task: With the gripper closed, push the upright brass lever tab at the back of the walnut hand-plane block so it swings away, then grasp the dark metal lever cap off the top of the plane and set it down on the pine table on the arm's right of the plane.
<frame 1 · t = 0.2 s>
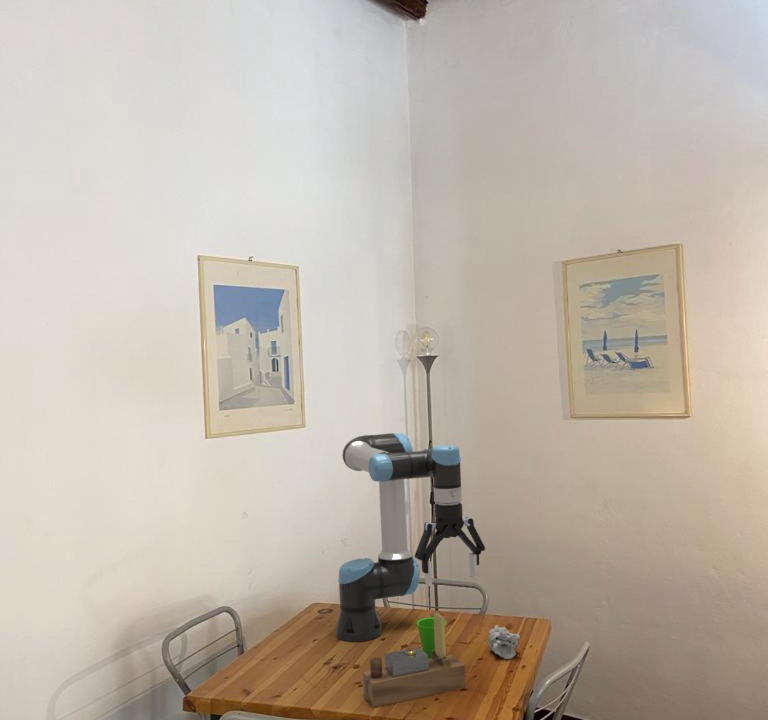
hand: (451, 581, 193), 28 cm above the table, fingers open, 13 cm apart
plane body: (414, 691, 190), on the table
cup: (433, 660, 210), on the table
lever: (439, 637, 193), point 13 cm above the table, hinge at 0.0°
lever cap: (406, 669, 189), point 6 cm above the table, touching plane body
figurine: (504, 654, 212), on the table
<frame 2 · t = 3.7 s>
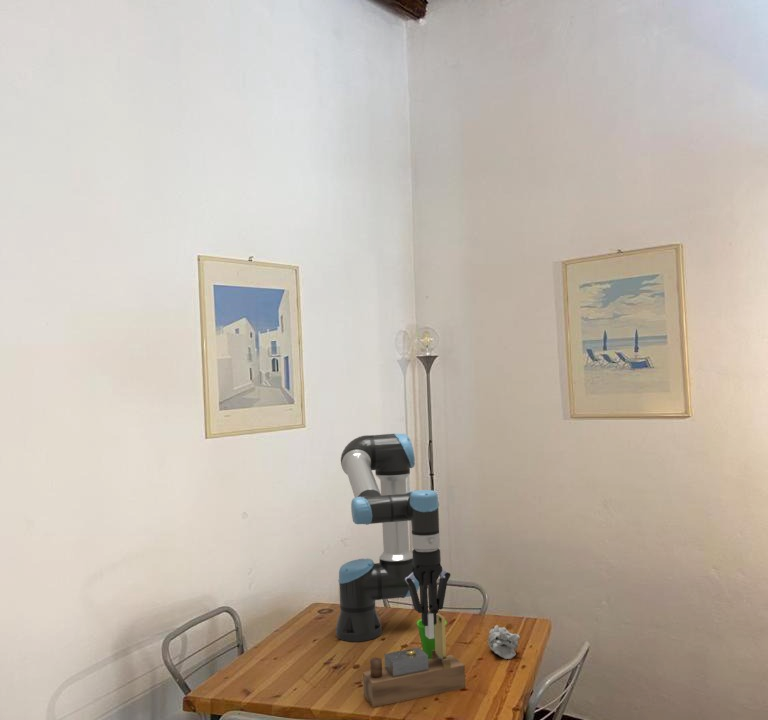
hand: (429, 636, 192), 13 cm above the table, fingers closed
lever: (440, 637, 193), point 13 cm above the table, hinge at 0.7°, touching gripper
everything else where it was.
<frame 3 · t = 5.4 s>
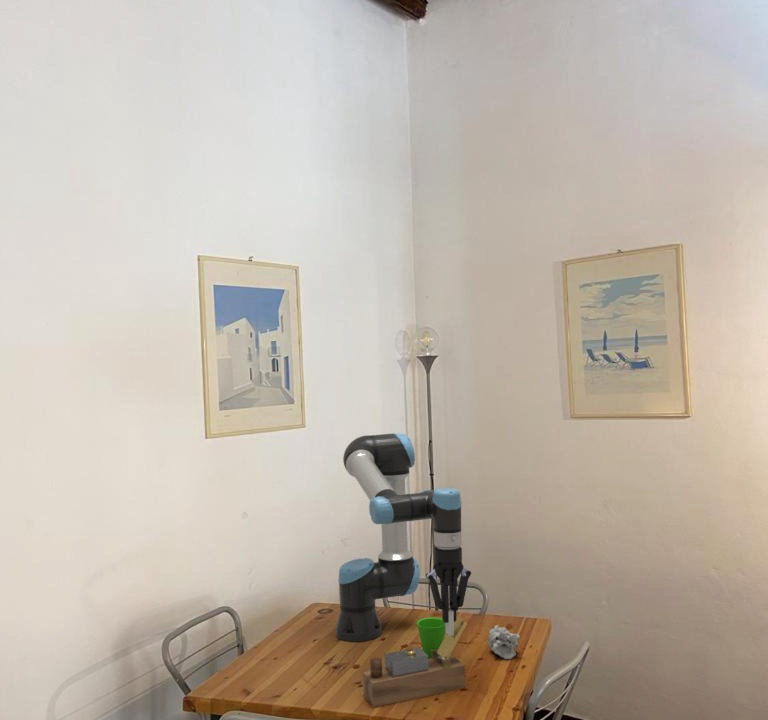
hand: (449, 633, 194), 13 cm above the table, fingers closed
lever: (450, 639, 194), point 12 cm above the table, hinge at 36.0°, touching gripper
everything else where it was.
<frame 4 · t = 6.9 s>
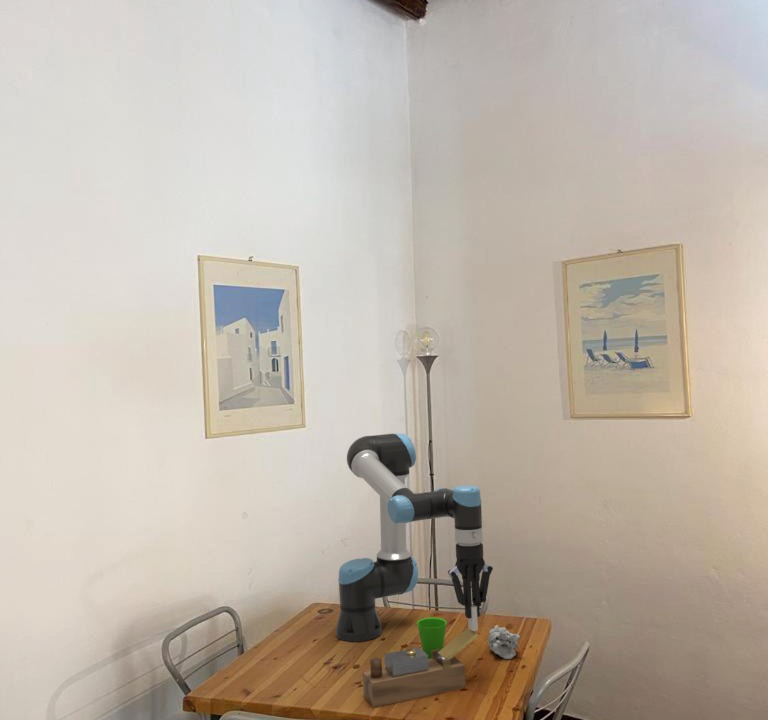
hand: (473, 629, 196), 13 cm above the table, fingers closed
lever: (456, 645, 194), point 10 cm above the table, hinge at 61.8°
everything else where it was.
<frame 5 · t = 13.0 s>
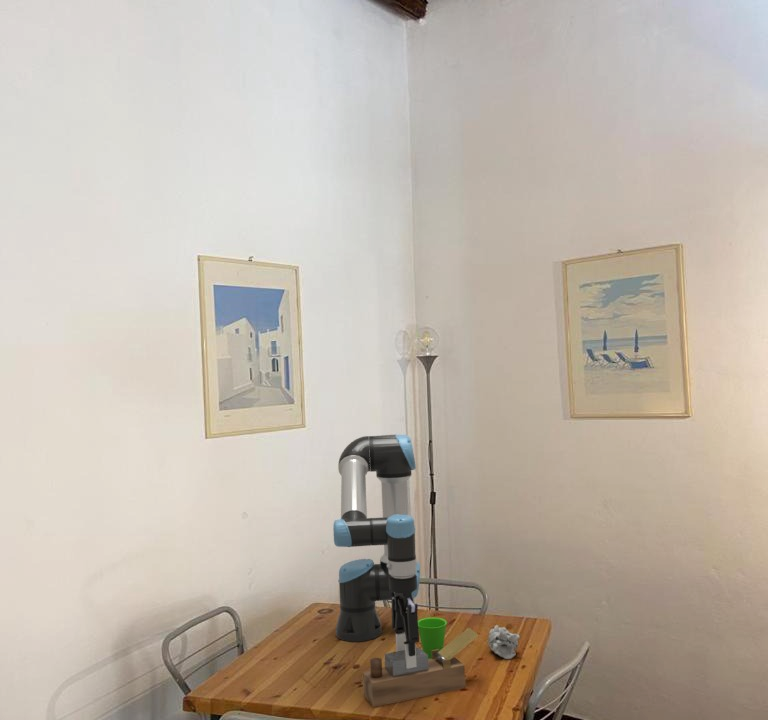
hand: (406, 662, 189), 8 cm above the table, fingers closed on lever cap, 6 cm apart
lever cap: (406, 669, 189), point 6 cm above the table, touching gripper, plane body
everything else where it was.
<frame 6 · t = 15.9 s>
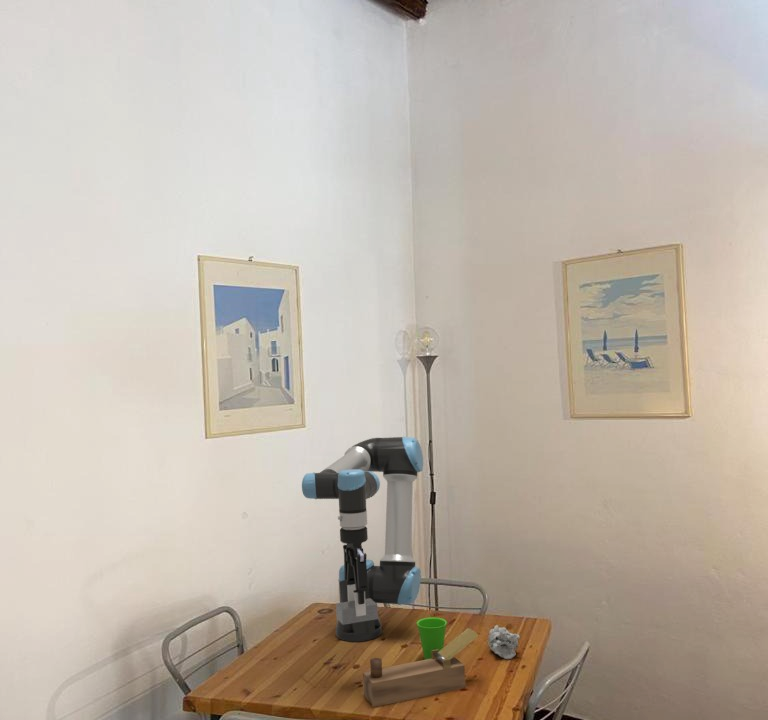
hand: (357, 611, 195), 20 cm above the table, fingers closed on lever cap, 6 cm apart
lever cap: (357, 618, 195), point 18 cm above the table, touching gripper
everything else where it was.
when the fingers open (4 cm above the table, at t = 19.0 s): lever cap drops 2 cm, on the table.
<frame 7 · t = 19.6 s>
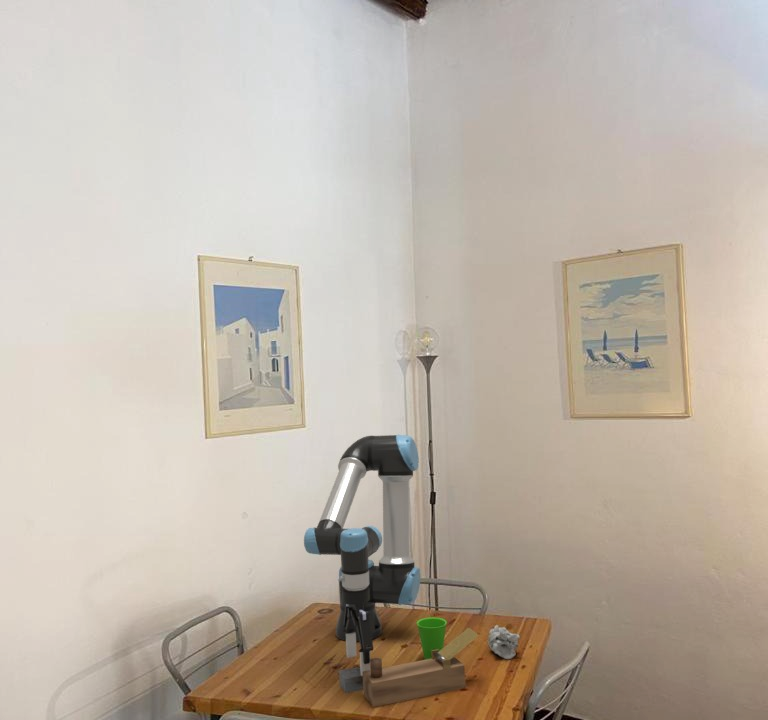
hand: (358, 665, 196), 5 cm above the table, fingers open, 12 cm apart
lever cap: (360, 686, 195), on the table
everything else where it was.
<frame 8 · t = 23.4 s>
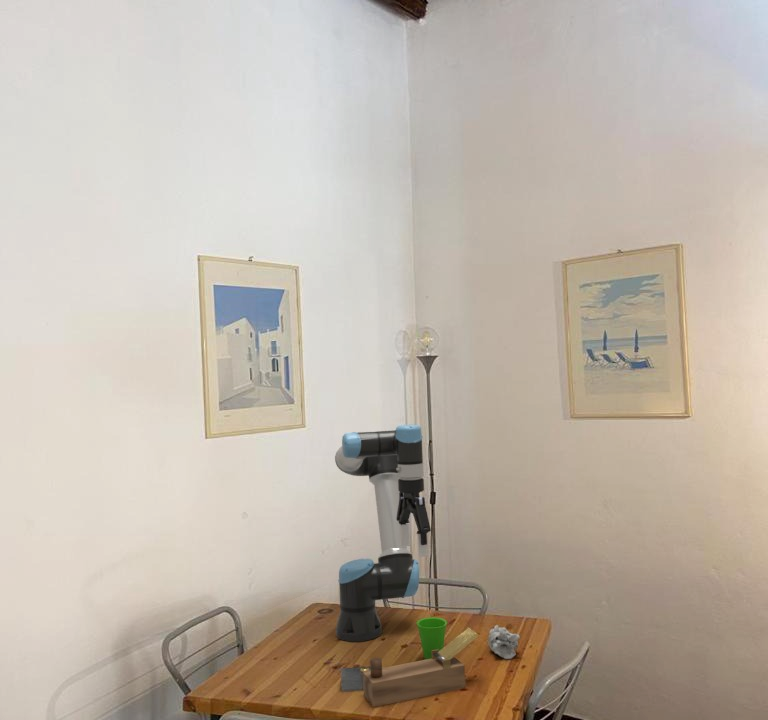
hand: (414, 551, 208), 33 cm above the table, fingers open, 13 cm apart
at the end: lever cap inside the target area (0.1 cm from its centre), on the table; lever cap touching table; lever at +62° (first picture: +0°) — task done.
